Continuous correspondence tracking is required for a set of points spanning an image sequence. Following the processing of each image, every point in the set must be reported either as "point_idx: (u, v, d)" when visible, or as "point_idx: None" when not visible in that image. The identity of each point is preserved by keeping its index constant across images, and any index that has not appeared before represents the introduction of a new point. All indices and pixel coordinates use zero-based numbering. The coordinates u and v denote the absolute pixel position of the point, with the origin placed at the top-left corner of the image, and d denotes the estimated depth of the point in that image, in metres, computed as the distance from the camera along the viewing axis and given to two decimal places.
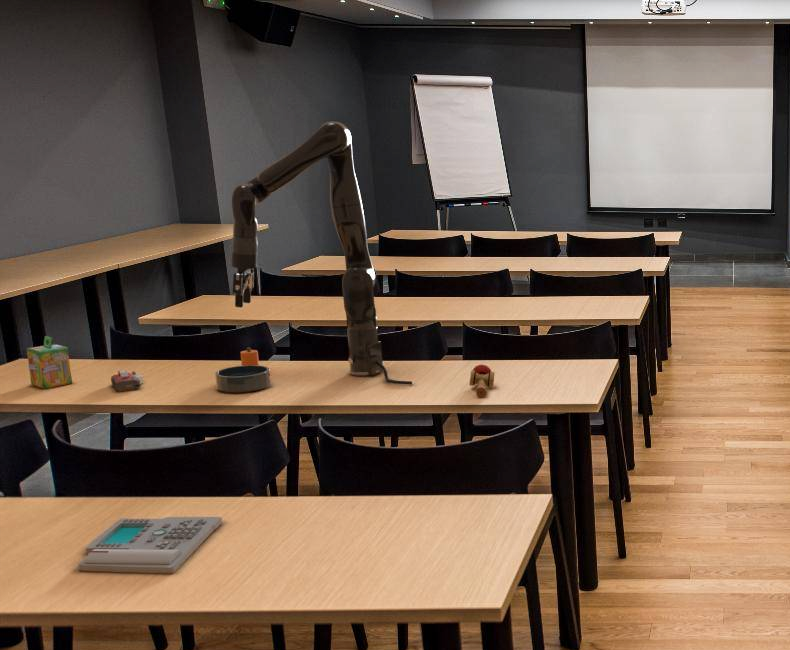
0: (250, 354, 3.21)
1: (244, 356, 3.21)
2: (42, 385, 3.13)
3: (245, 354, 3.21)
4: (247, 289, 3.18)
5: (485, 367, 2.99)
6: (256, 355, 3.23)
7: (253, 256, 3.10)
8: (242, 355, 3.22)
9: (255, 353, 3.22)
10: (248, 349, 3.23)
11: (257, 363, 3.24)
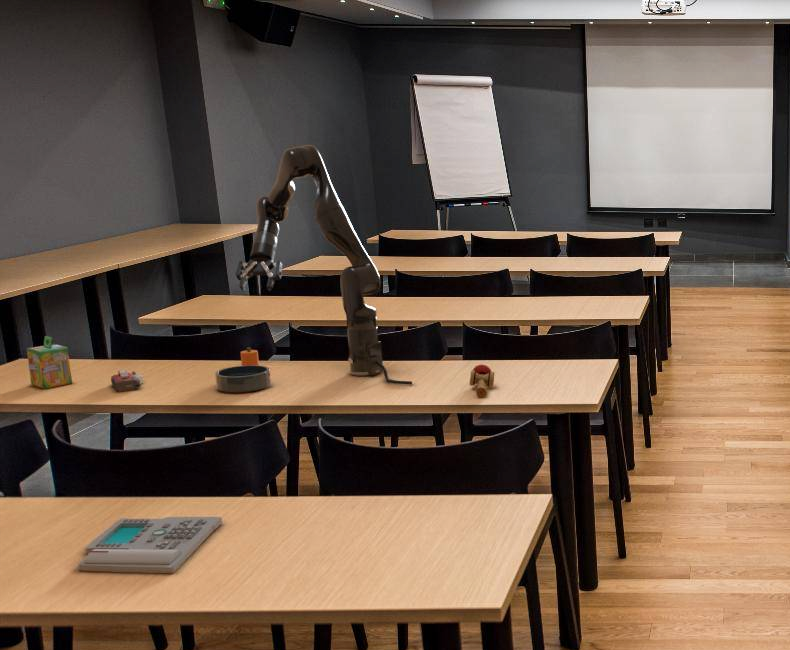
0: (250, 354, 3.21)
1: (244, 356, 3.21)
2: (42, 385, 3.13)
3: (245, 354, 3.21)
4: None
5: (485, 367, 2.99)
6: (256, 355, 3.23)
7: (254, 244, 3.34)
8: (242, 355, 3.22)
9: (255, 353, 3.22)
10: (248, 349, 3.23)
11: (257, 363, 3.24)
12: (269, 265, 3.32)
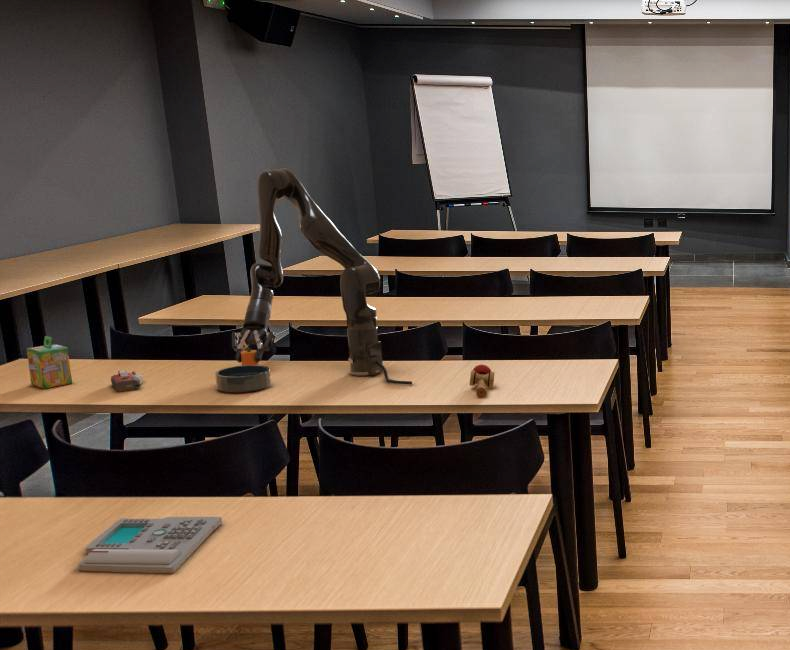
0: (250, 354, 3.21)
1: (244, 356, 3.21)
2: (42, 385, 3.13)
3: (245, 354, 3.21)
4: None
5: (485, 367, 2.99)
6: None
7: (248, 312, 3.28)
8: (242, 355, 3.22)
9: (255, 353, 3.22)
10: (248, 349, 3.23)
11: (257, 363, 3.24)
12: (262, 334, 3.26)
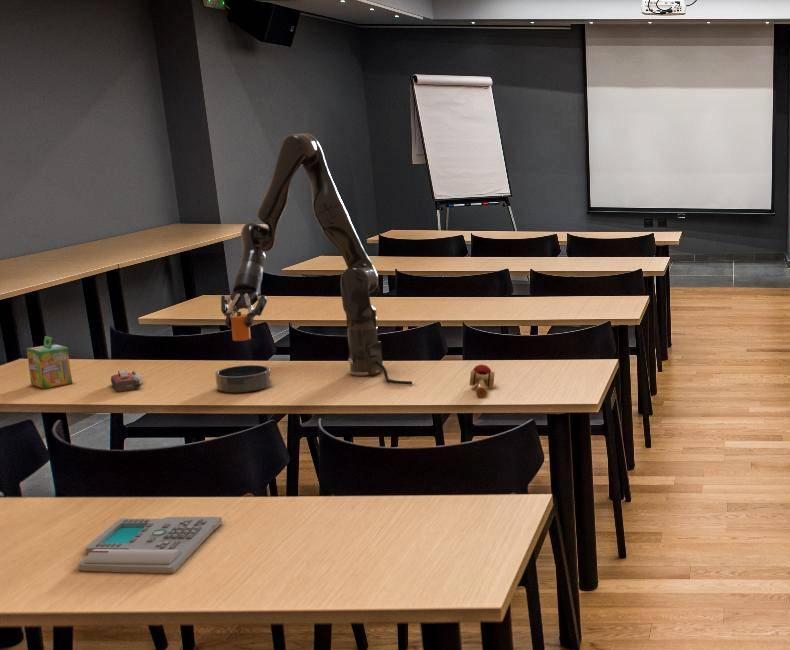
0: (240, 318, 3.05)
1: (234, 320, 3.05)
2: (42, 385, 3.13)
3: (235, 318, 3.04)
4: None
5: (485, 367, 2.99)
6: None
7: (238, 275, 3.11)
8: (232, 319, 3.05)
9: (245, 317, 3.06)
10: (238, 313, 3.06)
11: (248, 328, 3.07)
12: (253, 297, 3.09)
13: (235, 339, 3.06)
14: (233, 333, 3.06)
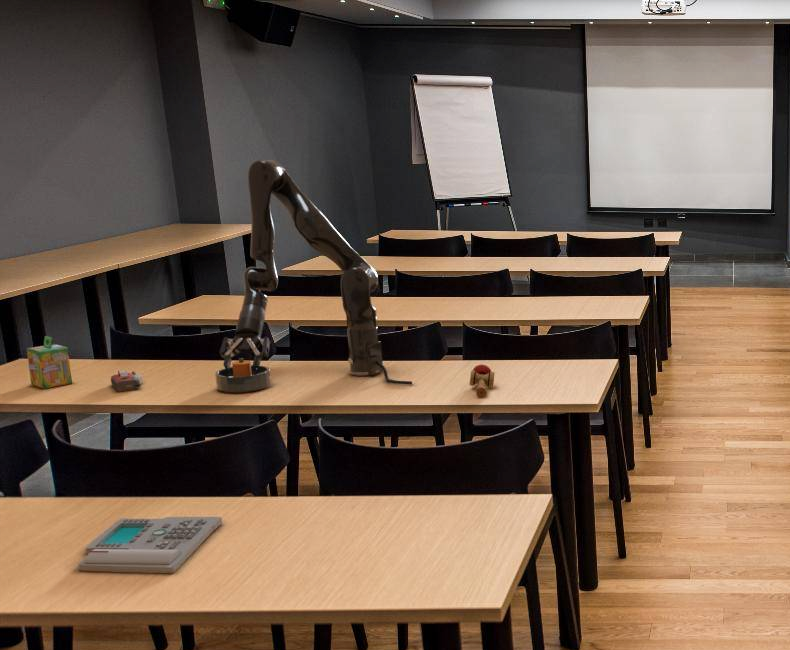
0: (242, 365, 3.03)
1: (236, 367, 3.04)
2: (42, 385, 3.13)
3: (237, 365, 3.03)
4: None
5: (485, 367, 2.99)
6: (249, 366, 3.05)
7: (240, 319, 3.10)
8: (234, 366, 3.04)
9: (248, 364, 3.05)
10: (240, 360, 3.05)
11: (250, 374, 3.06)
12: (256, 342, 3.08)
13: None
14: None
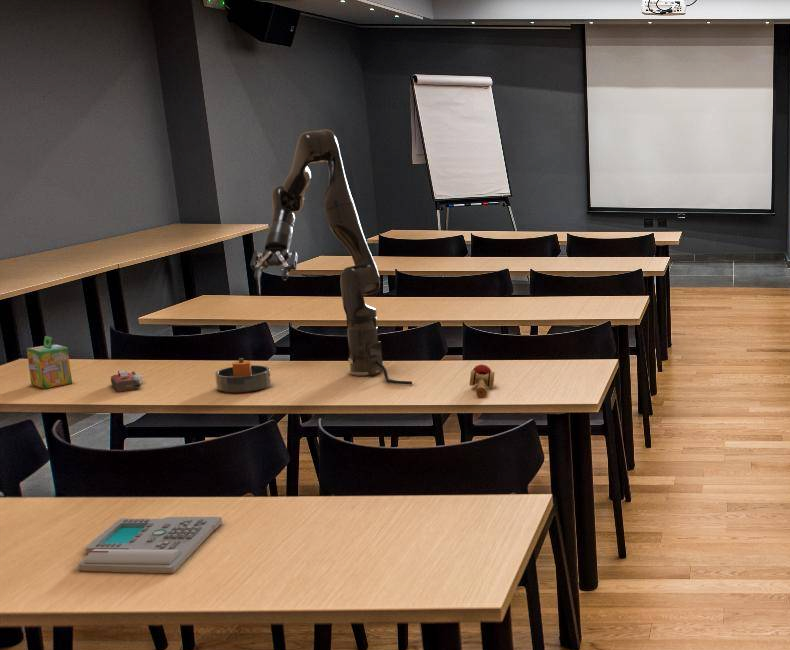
0: (242, 365, 3.03)
1: (236, 367, 3.04)
2: (42, 385, 3.13)
3: (237, 365, 3.03)
4: None
5: (485, 367, 2.99)
6: (249, 366, 3.05)
7: (269, 234, 3.27)
8: (234, 366, 3.04)
9: (248, 364, 3.05)
10: (240, 360, 3.05)
11: (250, 374, 3.06)
12: (284, 255, 3.25)
13: None
14: None
